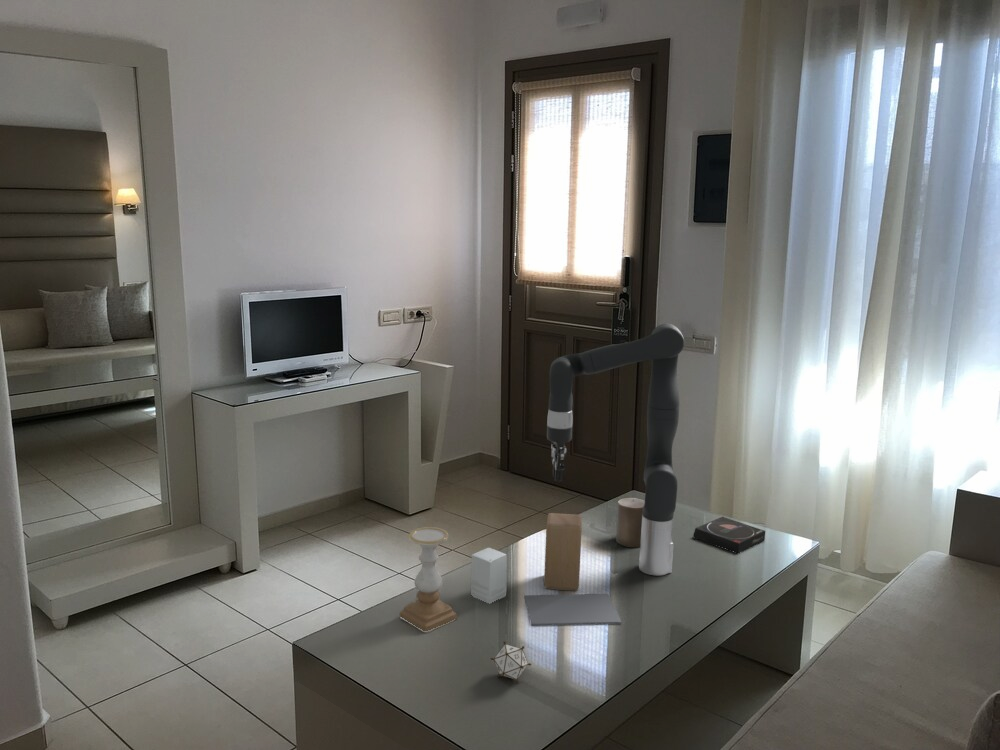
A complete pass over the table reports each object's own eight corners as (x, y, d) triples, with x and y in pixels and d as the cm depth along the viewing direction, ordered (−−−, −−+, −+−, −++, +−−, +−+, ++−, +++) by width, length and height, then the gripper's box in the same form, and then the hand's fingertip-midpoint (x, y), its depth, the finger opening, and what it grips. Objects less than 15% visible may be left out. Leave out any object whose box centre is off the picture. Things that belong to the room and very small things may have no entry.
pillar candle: (647, 548, 260) (650, 504, 258) (617, 547, 260) (620, 503, 258) (642, 536, 270) (645, 494, 267) (613, 535, 270) (616, 493, 267)
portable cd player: (719, 526, 281) (720, 516, 280) (764, 542, 269) (765, 530, 268) (693, 538, 270) (693, 527, 269) (738, 555, 258) (739, 543, 257)
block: (578, 576, 239) (581, 513, 235) (578, 592, 229) (581, 526, 225) (545, 574, 240) (547, 511, 236) (543, 589, 230) (546, 524, 226)
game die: (502, 688, 188) (488, 646, 192) (536, 676, 189) (522, 634, 192) (498, 691, 180) (484, 646, 183) (534, 678, 180) (519, 633, 183)
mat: (607, 595, 228) (608, 593, 228) (621, 623, 212) (621, 621, 212) (524, 596, 225) (524, 595, 225) (531, 625, 210) (531, 623, 210)
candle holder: (430, 604, 220) (431, 522, 215) (457, 619, 212) (458, 535, 207) (398, 618, 212) (398, 533, 207) (425, 634, 205) (425, 546, 200)
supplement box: (507, 596, 226) (508, 554, 223) (488, 605, 220) (489, 562, 218) (488, 587, 231) (489, 546, 228) (470, 596, 225) (470, 554, 223)
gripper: (576, 430, 232) (574, 487, 236) (568, 418, 246) (565, 471, 250) (551, 430, 232) (548, 487, 235) (543, 418, 246) (541, 471, 249)
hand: (557, 479), depth 242 cm, fingers open, 3 cm apart
